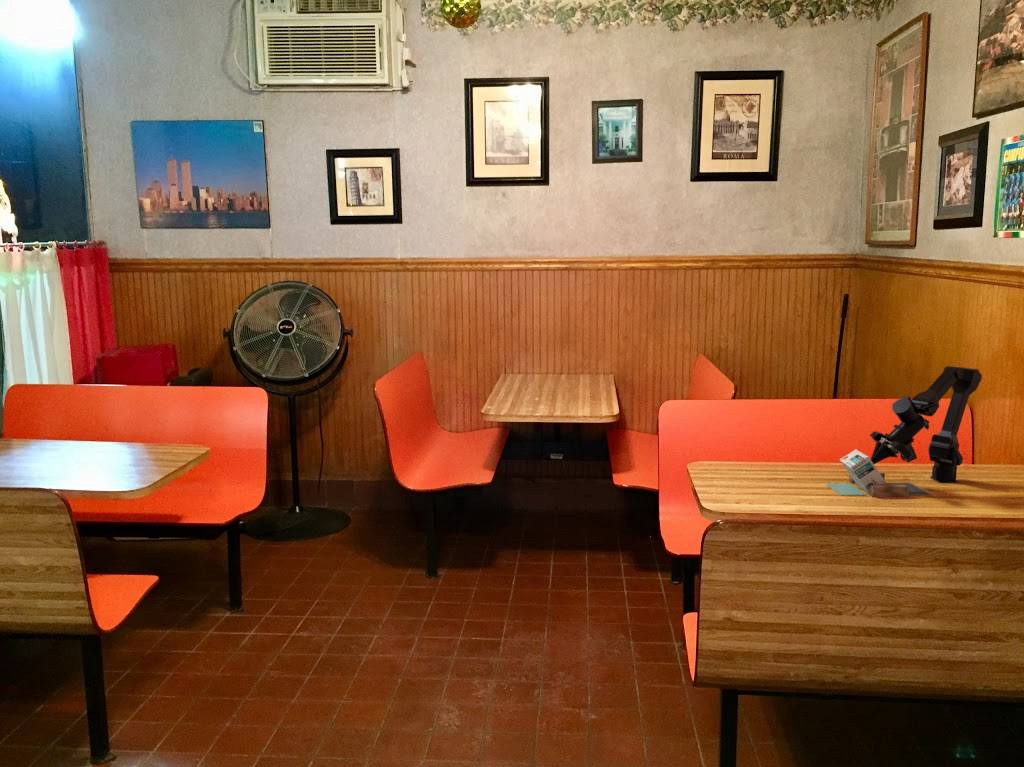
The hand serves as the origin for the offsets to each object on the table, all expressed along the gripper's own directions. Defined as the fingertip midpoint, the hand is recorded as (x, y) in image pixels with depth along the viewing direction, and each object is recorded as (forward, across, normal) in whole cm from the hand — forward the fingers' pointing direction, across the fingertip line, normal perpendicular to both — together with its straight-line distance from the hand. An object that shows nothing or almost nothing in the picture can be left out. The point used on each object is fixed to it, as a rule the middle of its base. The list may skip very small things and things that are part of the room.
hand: (871, 463), depth 273 cm
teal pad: (+12, 0, -1) cm, 12 cm away
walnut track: (+4, 0, -8) cm, 9 cm away
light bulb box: (+4, 0, -6) cm, 7 cm away
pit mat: (-3, 0, -16) cm, 16 cm away
